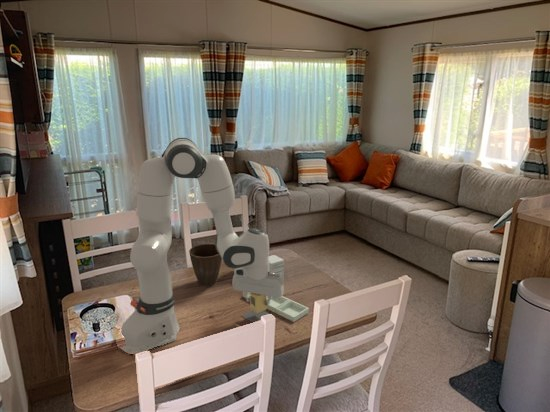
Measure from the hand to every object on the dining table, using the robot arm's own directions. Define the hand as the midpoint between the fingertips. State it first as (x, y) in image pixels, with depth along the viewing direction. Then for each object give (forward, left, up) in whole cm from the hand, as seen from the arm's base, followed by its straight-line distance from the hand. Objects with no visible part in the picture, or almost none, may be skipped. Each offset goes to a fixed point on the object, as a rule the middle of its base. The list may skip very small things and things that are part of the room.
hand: (258, 302), depth 156 cm
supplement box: (+24, +14, -7) cm, 29 cm away
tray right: (+11, -8, -6) cm, 15 cm away
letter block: (0, 0, -3) cm, 3 cm away
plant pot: (+5, +37, -6) cm, 38 cm away
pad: (0, 0, -6) cm, 6 cm away
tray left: (+11, +11, -6) cm, 16 cm away
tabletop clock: (+31, +33, -7) cm, 46 cm away
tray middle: (+11, +1, -6) cm, 13 cm away
